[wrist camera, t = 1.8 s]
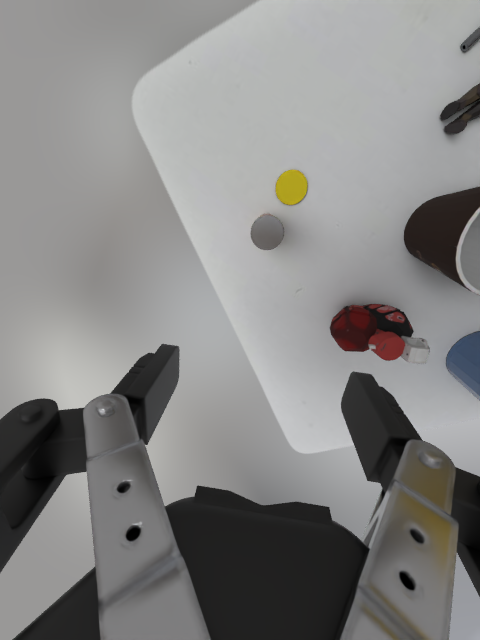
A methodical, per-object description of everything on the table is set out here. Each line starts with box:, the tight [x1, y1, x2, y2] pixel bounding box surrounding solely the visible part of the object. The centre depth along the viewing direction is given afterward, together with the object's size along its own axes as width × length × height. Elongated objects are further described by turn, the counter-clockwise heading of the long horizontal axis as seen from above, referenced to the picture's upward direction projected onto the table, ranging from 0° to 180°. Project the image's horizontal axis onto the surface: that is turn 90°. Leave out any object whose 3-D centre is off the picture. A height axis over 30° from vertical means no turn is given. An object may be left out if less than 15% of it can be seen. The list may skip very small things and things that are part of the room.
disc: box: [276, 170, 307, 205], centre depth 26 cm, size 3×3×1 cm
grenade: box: [330, 304, 430, 364], centre depth 27 cm, size 5×8×10 cm, turn 99°
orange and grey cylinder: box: [251, 214, 284, 250], centre depth 24 cm, size 3×3×9 cm
